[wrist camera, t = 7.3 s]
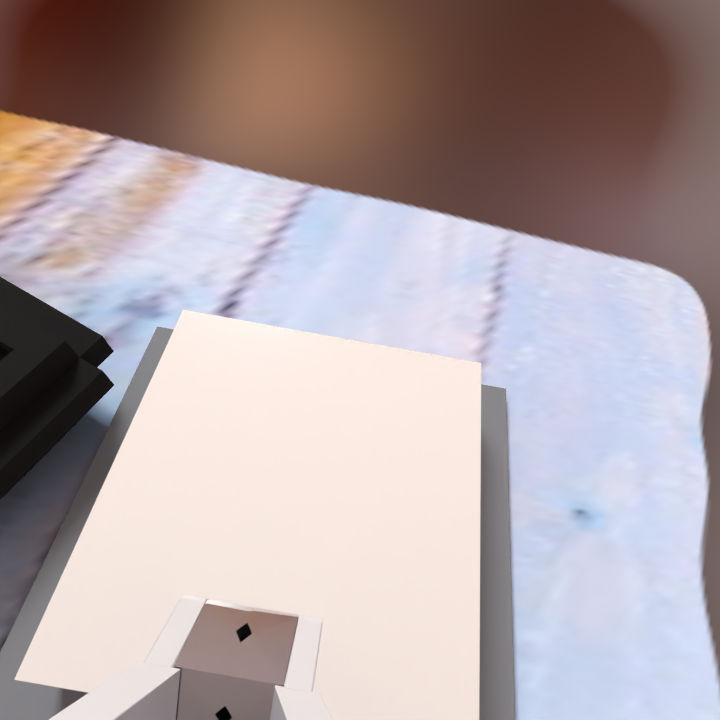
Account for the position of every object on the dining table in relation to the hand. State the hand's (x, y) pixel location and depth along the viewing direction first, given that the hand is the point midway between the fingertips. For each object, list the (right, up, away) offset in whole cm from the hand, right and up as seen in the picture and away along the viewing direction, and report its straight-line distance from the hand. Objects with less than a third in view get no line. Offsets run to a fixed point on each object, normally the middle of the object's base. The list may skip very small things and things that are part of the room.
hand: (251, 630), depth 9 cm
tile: (-1, -4, +3) cm, 5 cm away
